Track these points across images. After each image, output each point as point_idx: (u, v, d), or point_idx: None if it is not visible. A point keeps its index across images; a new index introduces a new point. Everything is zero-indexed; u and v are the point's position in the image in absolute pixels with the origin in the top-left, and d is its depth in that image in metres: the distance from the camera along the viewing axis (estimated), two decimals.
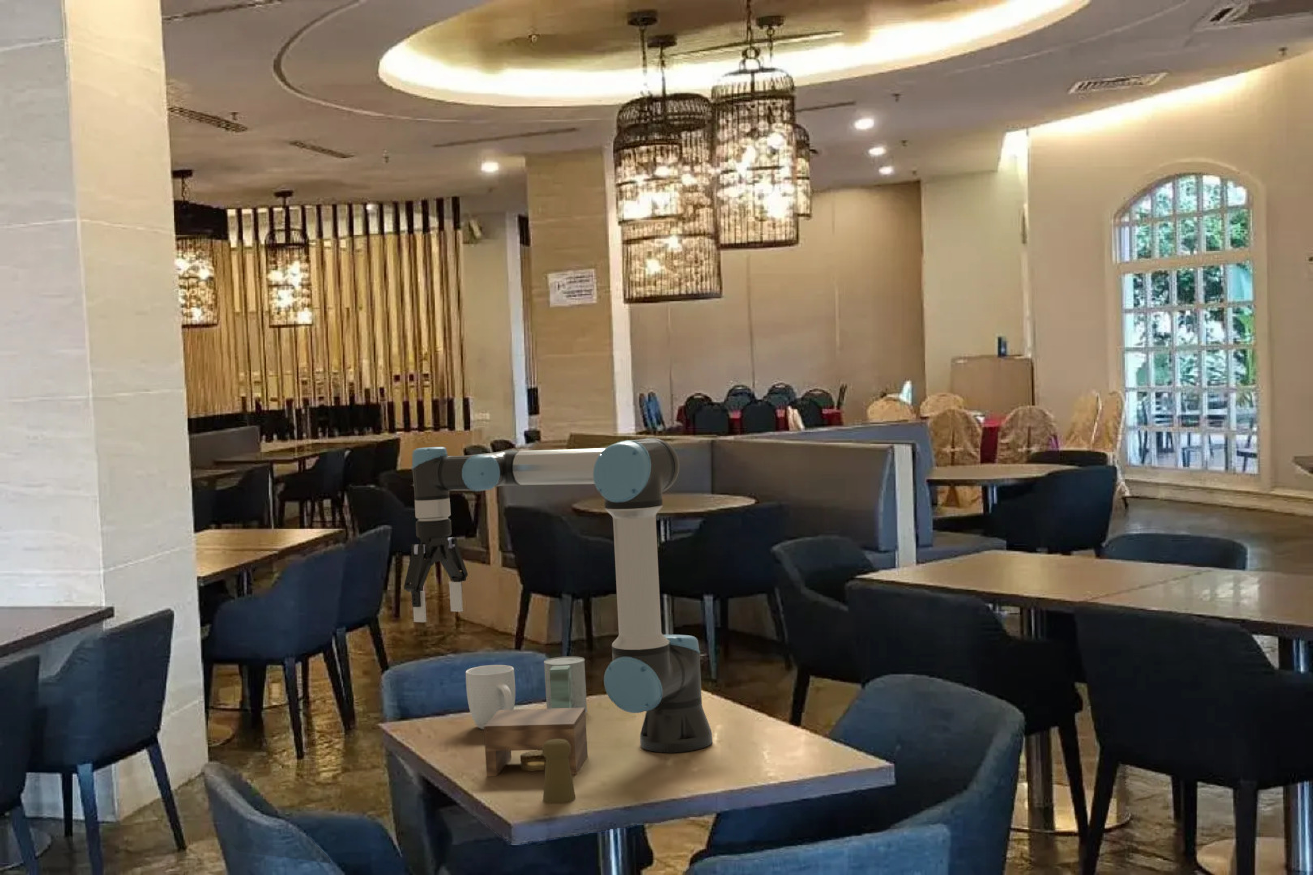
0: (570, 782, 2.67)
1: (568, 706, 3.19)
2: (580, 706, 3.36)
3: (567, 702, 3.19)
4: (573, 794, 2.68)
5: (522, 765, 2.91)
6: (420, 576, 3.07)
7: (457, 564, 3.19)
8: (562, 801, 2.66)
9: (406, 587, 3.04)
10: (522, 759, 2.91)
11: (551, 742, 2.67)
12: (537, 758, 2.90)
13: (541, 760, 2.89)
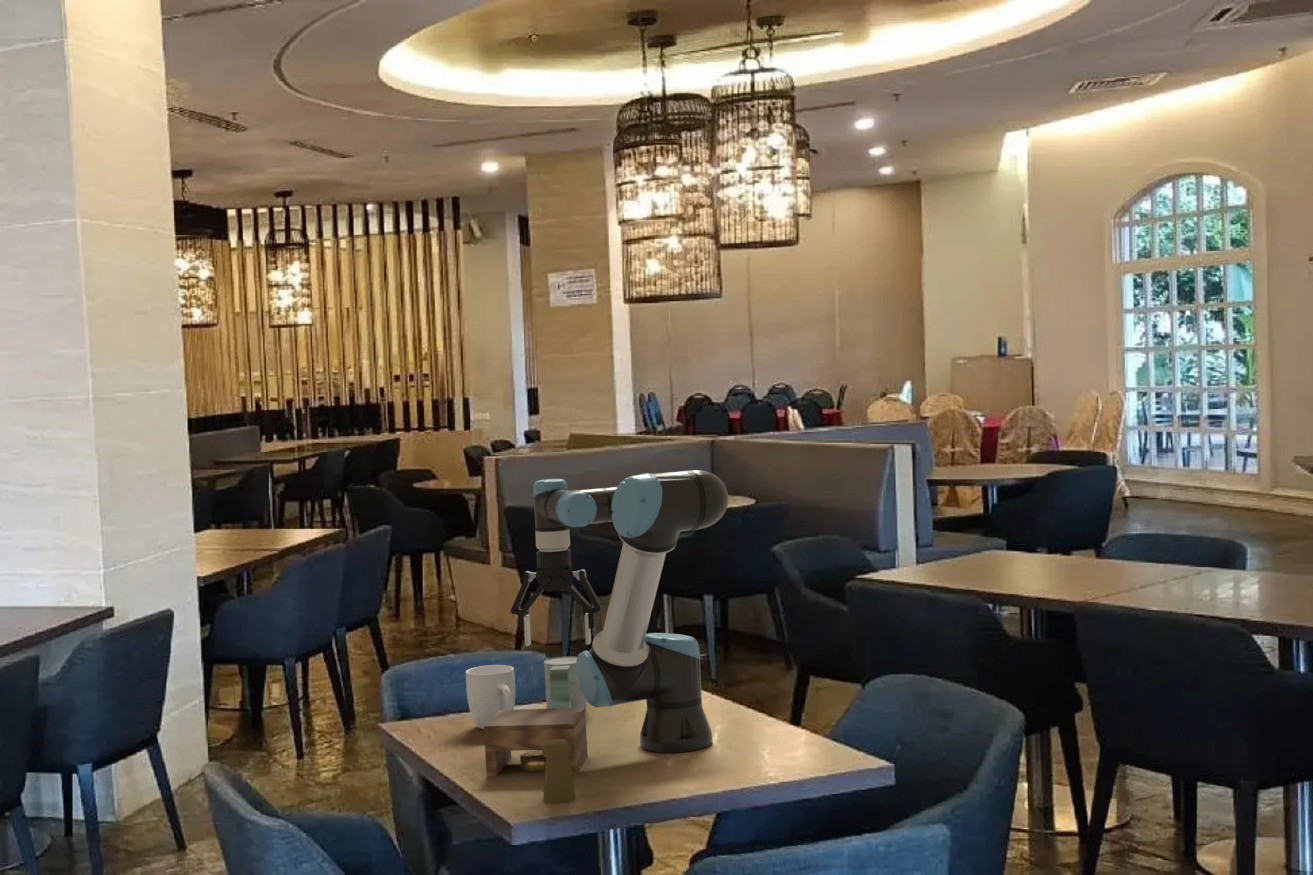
0: (570, 782, 2.67)
1: (568, 706, 3.19)
2: (580, 706, 3.36)
3: (567, 702, 3.19)
4: (573, 794, 2.68)
5: (522, 765, 2.91)
6: None
7: None
8: (562, 801, 2.66)
9: None
10: (522, 759, 2.91)
11: (552, 742, 2.67)
12: (537, 758, 2.90)
13: (541, 760, 2.89)
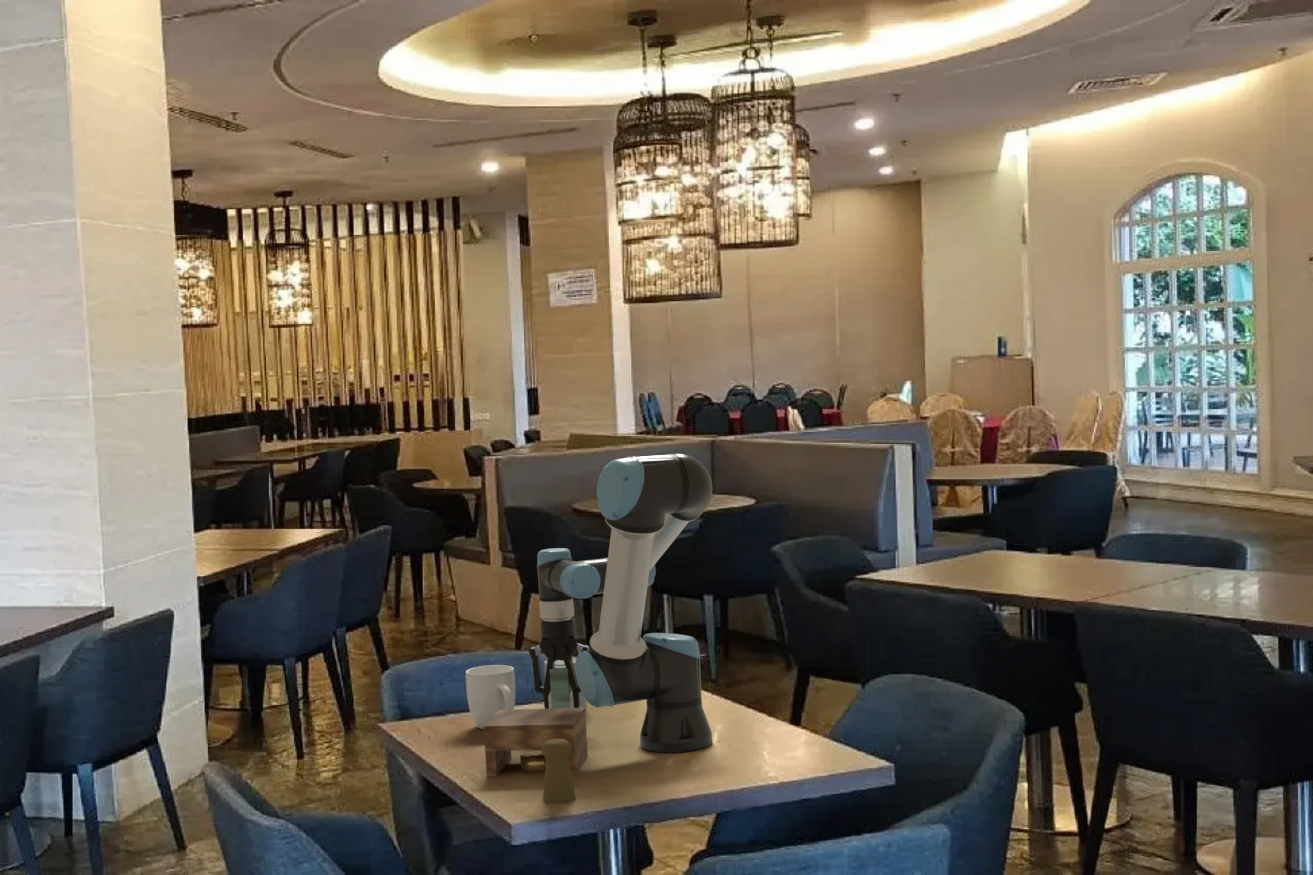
0: (570, 782, 2.67)
1: (568, 706, 3.19)
2: (580, 706, 3.36)
3: (567, 702, 3.19)
4: (573, 794, 2.68)
5: (522, 765, 2.91)
6: (545, 679, 3.21)
7: None
8: (562, 801, 2.66)
9: None
10: (522, 759, 2.91)
11: (552, 742, 2.67)
12: (537, 758, 2.90)
13: (541, 760, 2.89)
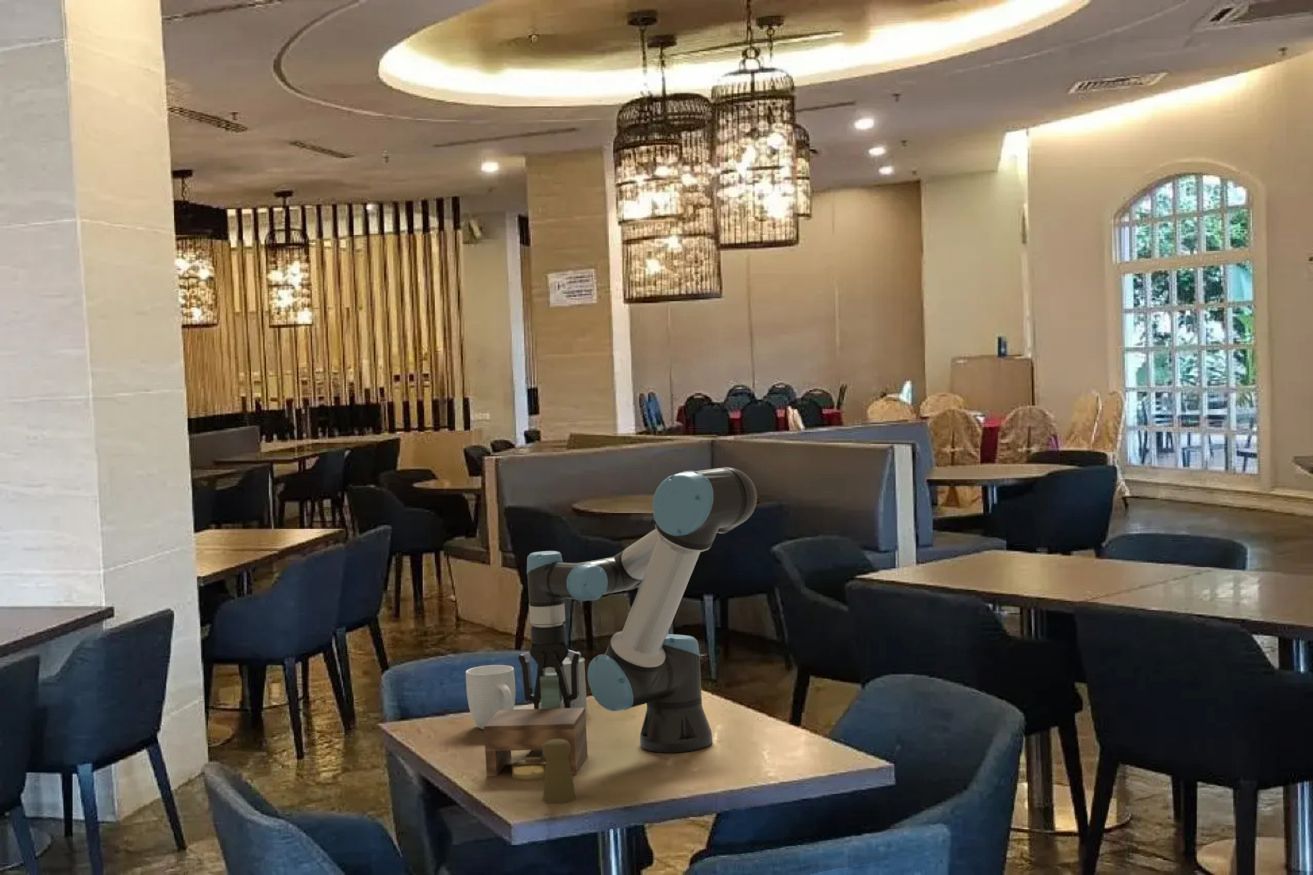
0: (570, 782, 2.67)
1: None
2: (580, 706, 3.36)
3: None
4: (573, 794, 2.68)
5: (513, 774, 2.83)
6: None
7: None
8: (562, 801, 2.66)
9: None
10: (513, 768, 2.83)
11: (551, 742, 2.67)
12: (529, 767, 2.82)
13: (533, 769, 2.82)
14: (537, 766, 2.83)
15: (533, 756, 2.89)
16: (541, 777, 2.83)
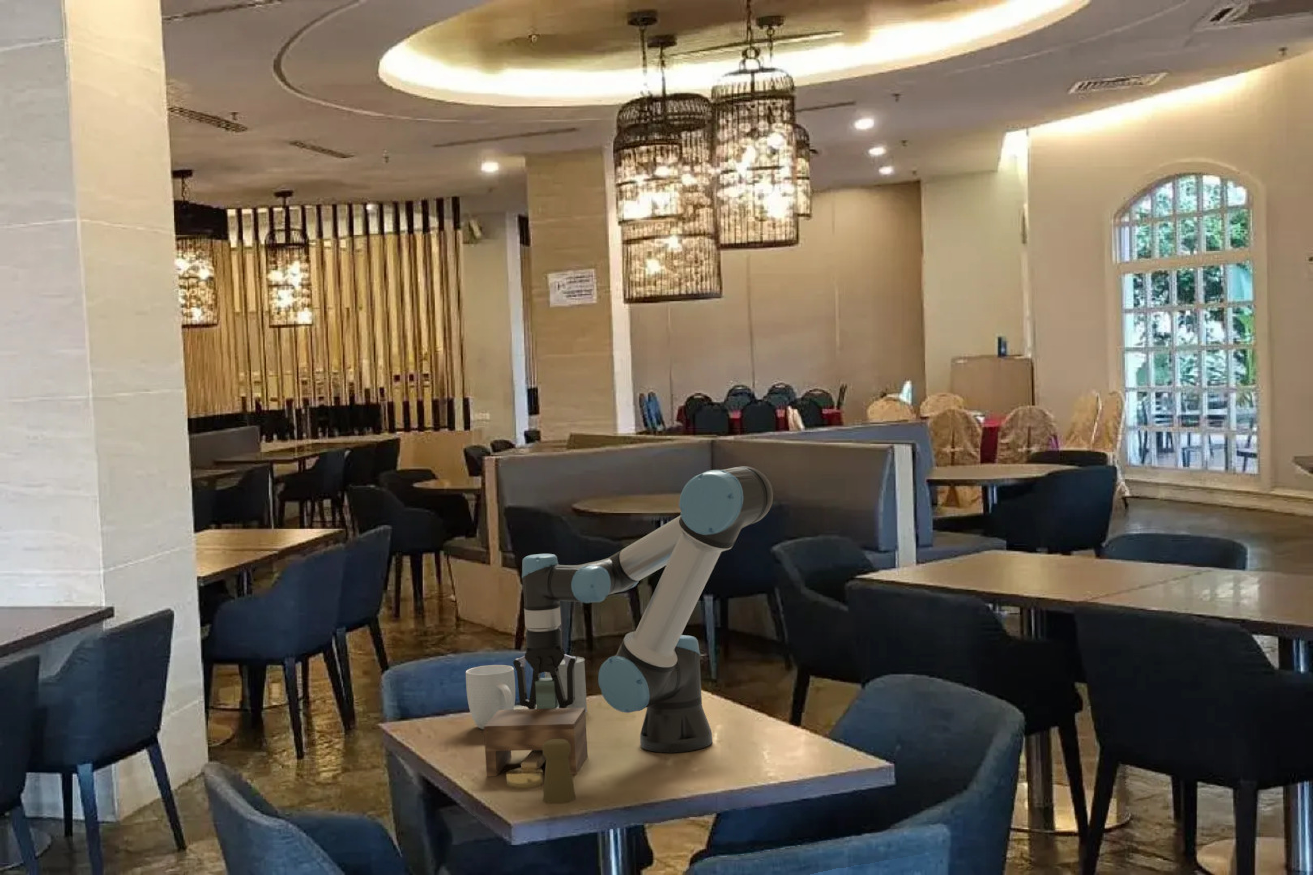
0: (570, 782, 2.67)
1: None
2: (580, 706, 3.36)
3: None
4: (573, 794, 2.68)
5: (508, 783, 2.78)
6: None
7: None
8: (562, 801, 2.66)
9: None
10: (508, 776, 2.78)
11: (552, 742, 2.67)
12: (523, 775, 2.77)
13: (528, 778, 2.77)
14: (532, 774, 2.78)
15: (529, 762, 2.84)
16: None
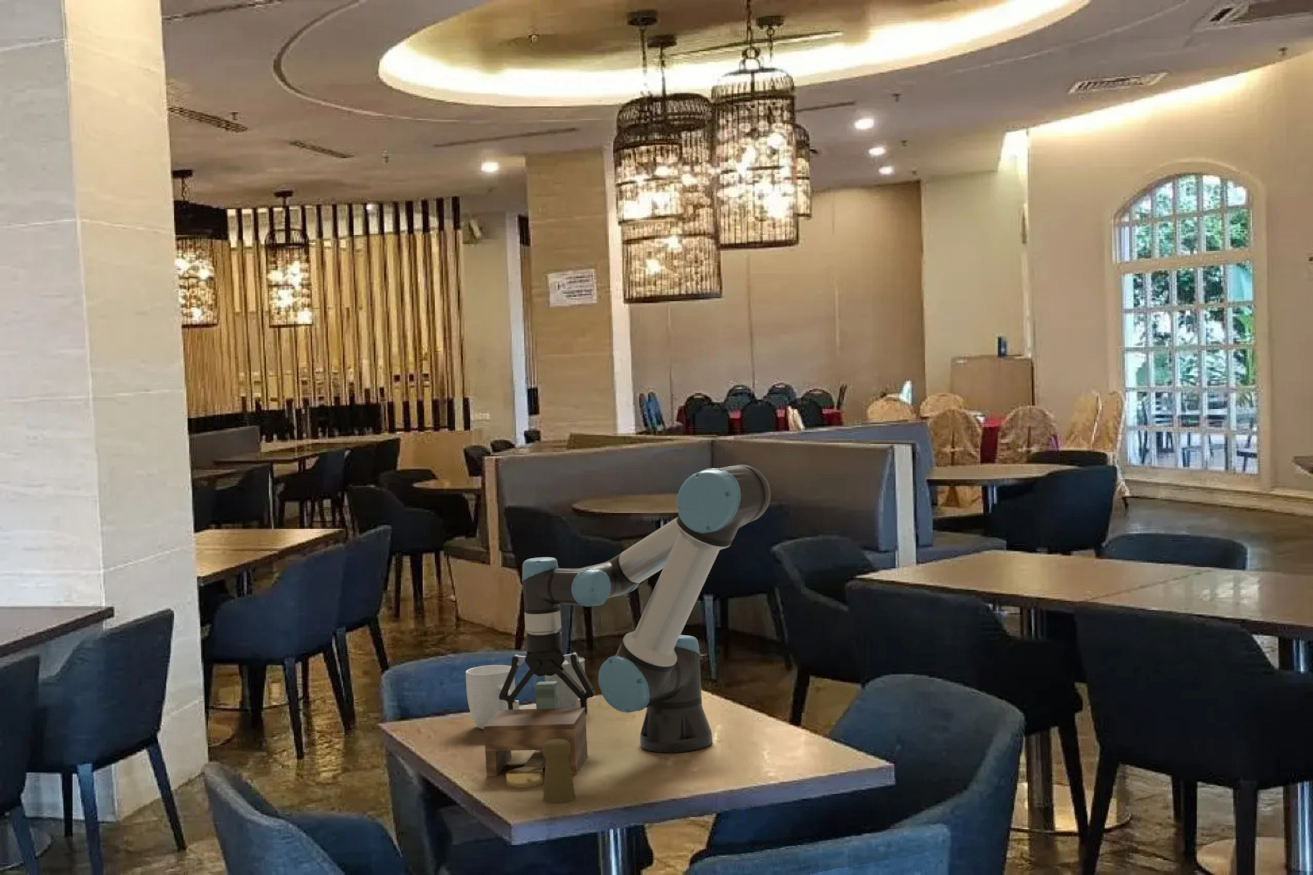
0: (570, 782, 2.67)
1: None
2: None
3: None
4: (573, 794, 2.68)
5: (508, 783, 2.78)
6: (516, 687, 3.05)
7: None
8: (562, 801, 2.66)
9: None
10: (508, 776, 2.78)
11: (551, 742, 2.67)
12: (523, 775, 2.77)
13: (527, 778, 2.77)
14: (532, 774, 2.78)
15: None
16: (536, 785, 2.78)
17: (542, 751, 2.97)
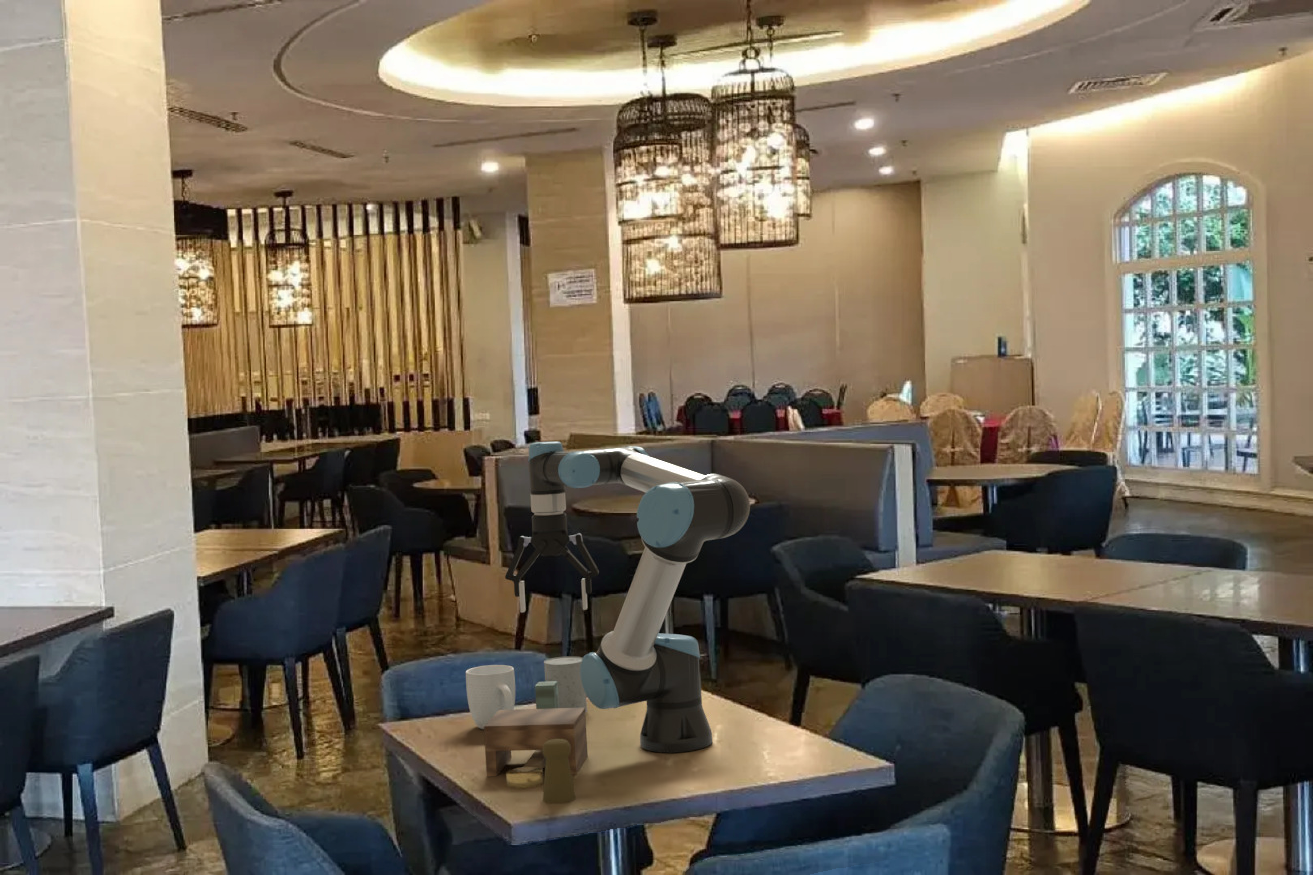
0: (570, 782, 2.67)
1: None
2: (580, 706, 3.36)
3: None
4: (573, 794, 2.68)
5: (508, 782, 2.78)
6: None
7: (586, 561, 3.14)
8: (562, 801, 2.66)
9: None
10: (508, 776, 2.78)
11: (551, 742, 2.67)
12: (523, 775, 2.77)
13: (527, 778, 2.77)
14: (532, 774, 2.78)
15: None
16: (536, 785, 2.78)
17: (542, 751, 2.97)
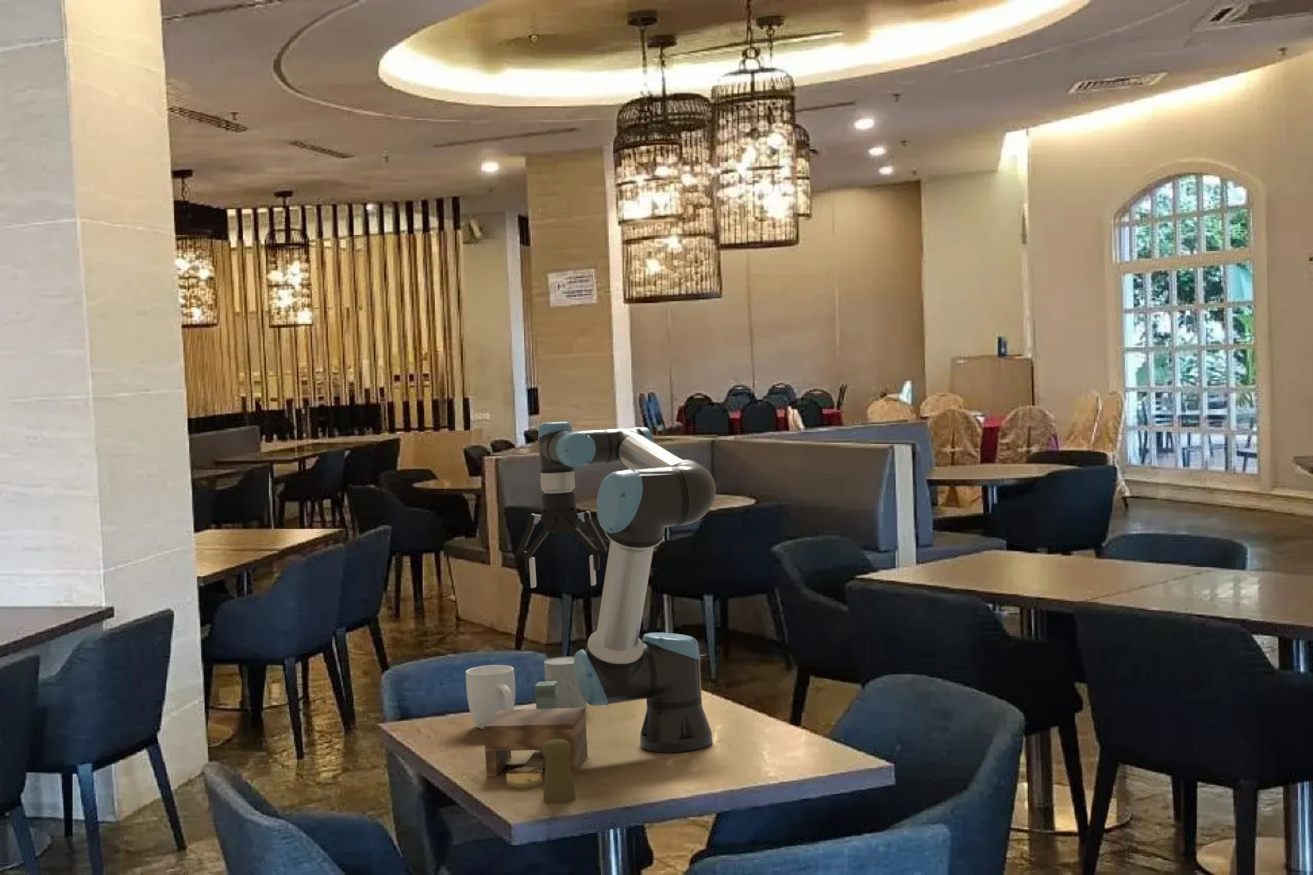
0: (570, 782, 2.67)
1: None
2: (580, 706, 3.36)
3: None
4: (573, 794, 2.68)
5: (508, 782, 2.78)
6: (532, 544, 3.23)
7: None
8: (562, 801, 2.66)
9: None
10: (508, 776, 2.78)
11: (552, 742, 2.67)
12: (523, 775, 2.77)
13: (527, 777, 2.77)
14: (532, 774, 2.78)
15: None
16: (536, 785, 2.78)
17: (542, 751, 2.97)
